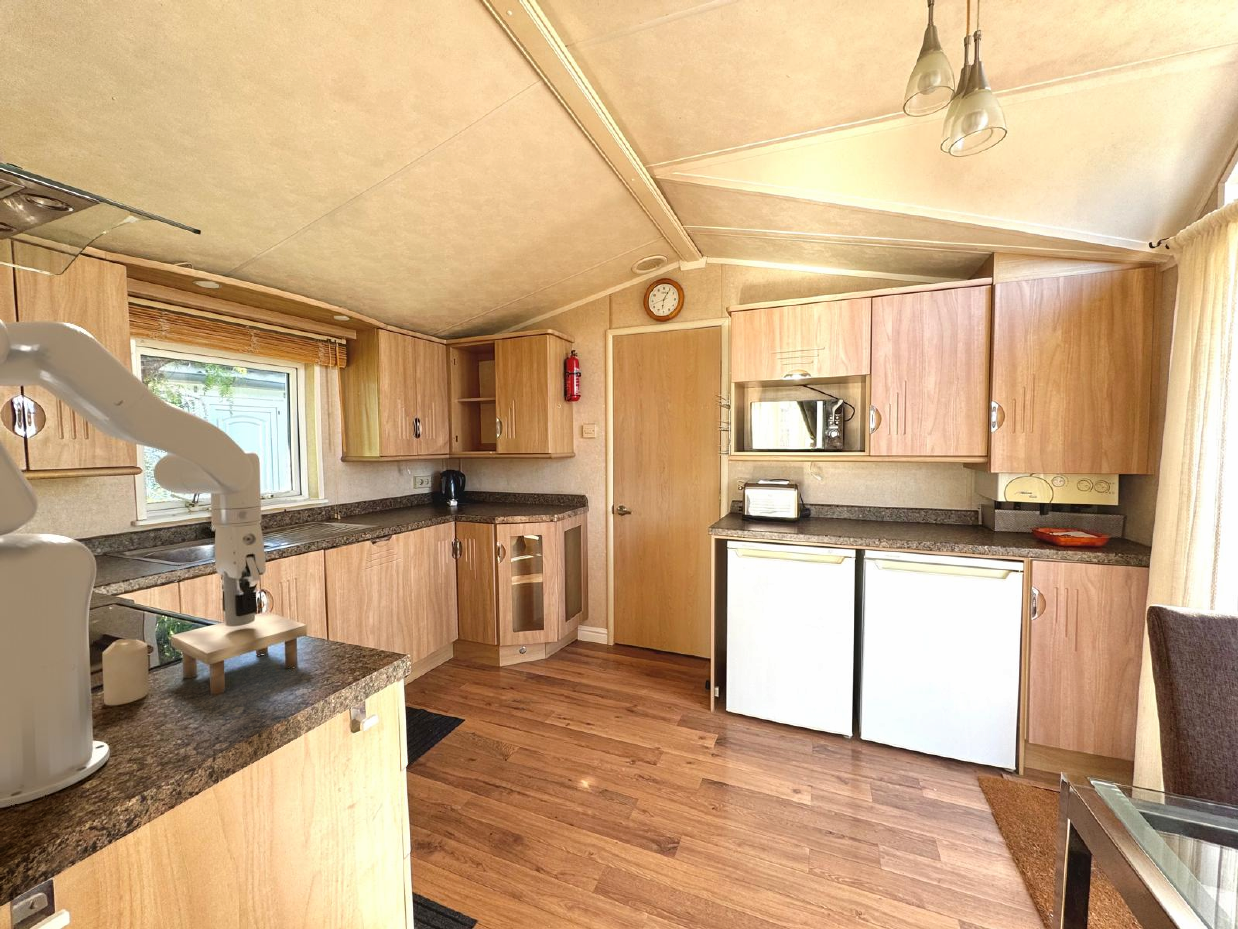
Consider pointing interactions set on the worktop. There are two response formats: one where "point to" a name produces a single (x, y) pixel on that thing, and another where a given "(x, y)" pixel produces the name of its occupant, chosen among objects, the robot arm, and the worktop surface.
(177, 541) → the worktop surface
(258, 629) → the stool
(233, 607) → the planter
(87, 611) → the robot arm
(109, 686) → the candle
